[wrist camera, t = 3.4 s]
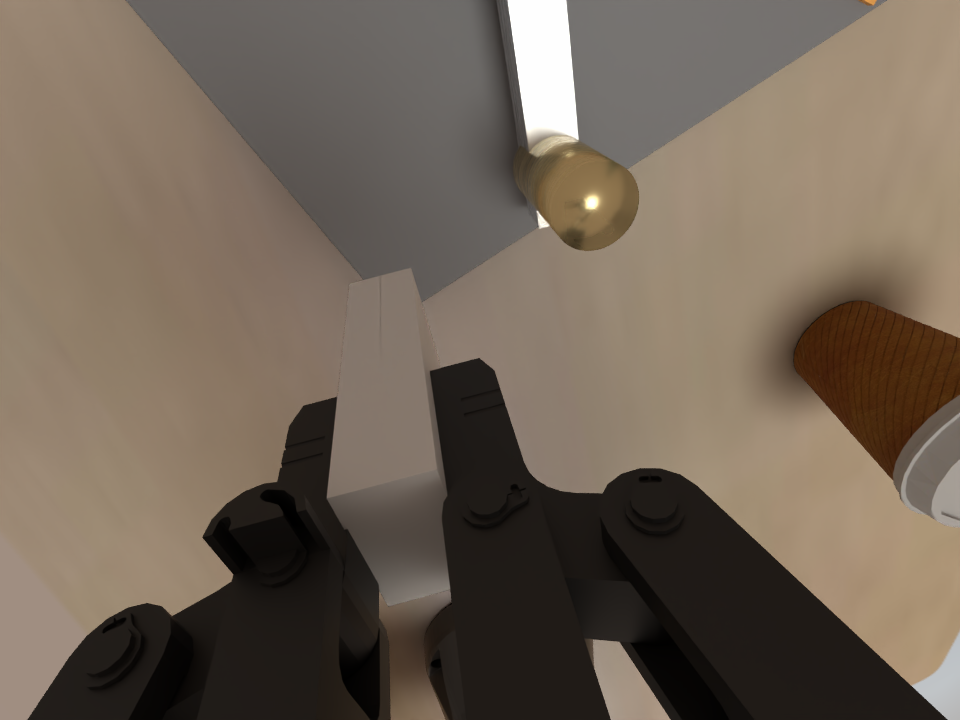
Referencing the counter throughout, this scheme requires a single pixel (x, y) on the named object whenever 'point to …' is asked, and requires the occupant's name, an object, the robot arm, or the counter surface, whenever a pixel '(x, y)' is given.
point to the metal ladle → (558, 133)
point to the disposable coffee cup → (893, 397)
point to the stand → (459, 102)
